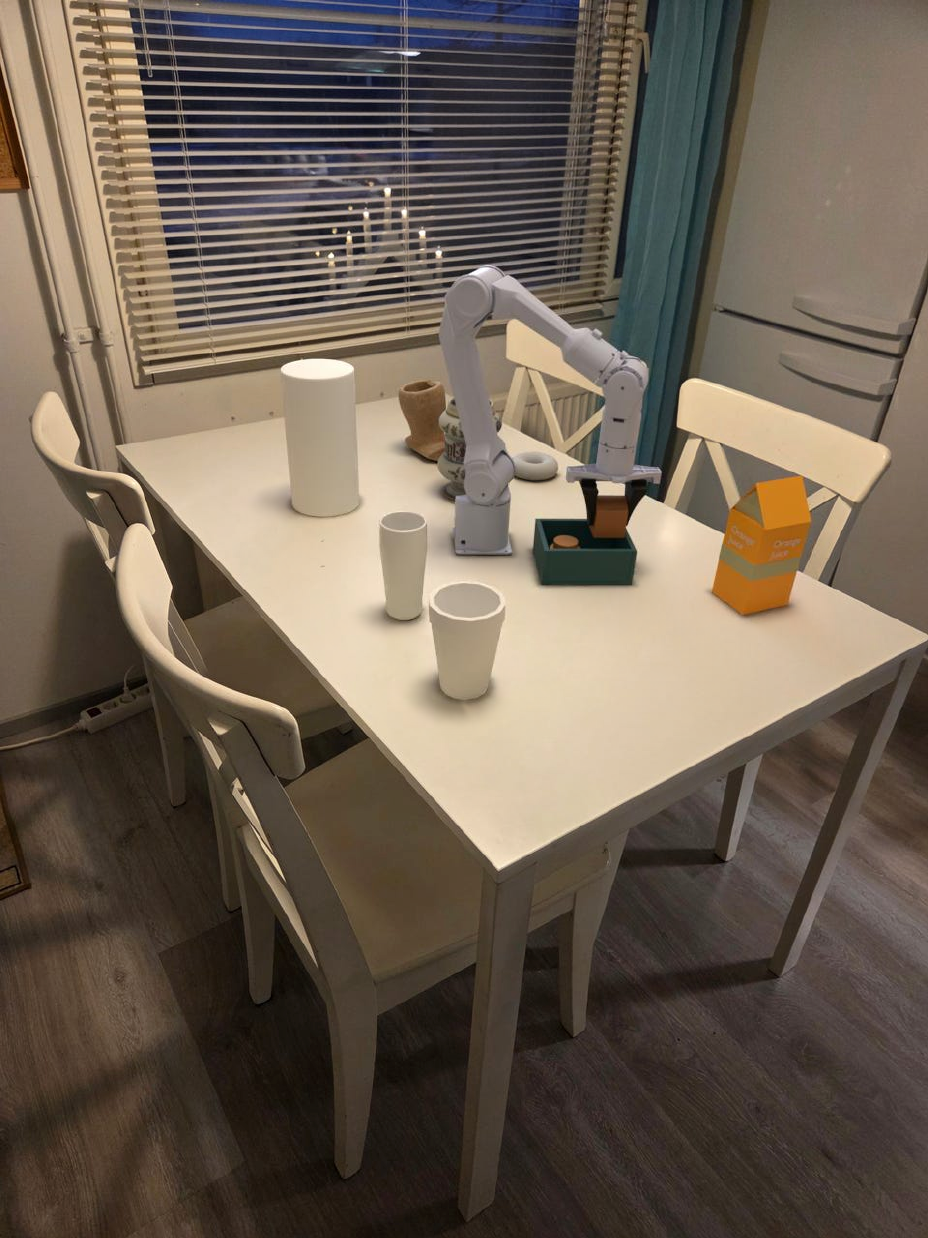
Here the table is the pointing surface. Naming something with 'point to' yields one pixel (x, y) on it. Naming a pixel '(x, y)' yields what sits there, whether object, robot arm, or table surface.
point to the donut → (535, 465)
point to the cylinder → (321, 436)
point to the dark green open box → (582, 555)
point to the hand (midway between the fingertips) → (606, 523)
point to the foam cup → (466, 635)
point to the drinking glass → (403, 562)
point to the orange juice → (763, 546)
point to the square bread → (610, 517)
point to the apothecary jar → (456, 449)
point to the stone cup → (424, 416)
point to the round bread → (565, 542)
